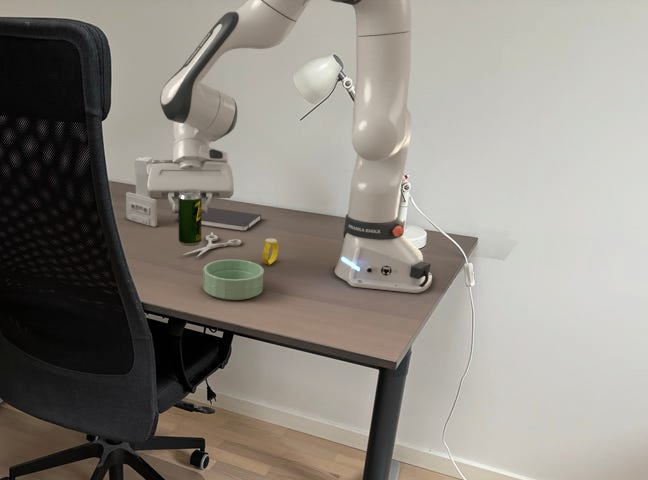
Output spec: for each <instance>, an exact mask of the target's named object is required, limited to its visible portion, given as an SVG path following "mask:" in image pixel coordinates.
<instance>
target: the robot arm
mask: <svg viewBox="0 0 648 480" xmlns="http://www.w3.org/2000/svg"><path fill="white" fill-rule="evenodd" d="M311 1H312V0H247V1H246V2H245V3H244V4H243V5H241V6H240V7H239V8H237V9H236V10H234V11H229V12H226V13H224V15H222V16H221V17H220V18H219V19H218V20H217V22H216V23H215V24H214V25H212V27H211V29H210V30H209V32H207V34H206V35H205V36H204V38H203V39H202V40H201V42H199V44H198V45H197V47H196V48H195V49H194V51H193V52H192V53H191V54H190V56H189V57H188V59H187V60H185V62H184V63H183V65H182V66H181V67H180V69H178V71H176V73H174V74H173V75H172V76H171V77H170V78H169V79H168V80H167V82H166V83H165V85H164V86H163V88H162V90H161V92H160V96H159V102H160V107H161V110H162V112H163V114H164V116H165V117H166V119H167V120H169V121H171V122H172V137H173V140H174V141H173V144H172V154H171V155H172V158H171V159H163V160H160V159H154V160H153V162H150V163H149V164H148V165H147V175H148V183H147V192H148V195H149V196H150V197H151V198H153V199H158V198H159V199H167V200H168V203H169V204H170V206H171V208H172V214H177V215H178V203H176V202H175V199H178V196H179V192H180V191H182V190H198V191H200V192H201V196H202V199H205V202H204V203H202V214H207V208H208V207H209V208H210V205H211V204H212V202H213V199H231V197H233V195H234V190H235V187H234V186H235V185H234V184H235V183H234V174H233V170H232V167H231V165H230V163H229V155H228V153H227V152H225V151H223V150H219V149H216V148H214V147H213V148H212V147H211V146H210V143H213V142H216V141H218V140H221V139H222V138H223V137H225V136H228V135H229V134H230V133H231V132H232V131H233V130H234V129H235V127H236V125H237V123H238V122H237V121H238V104H237V102H236V101H235V98H233V97H231V96H229V95H227V94H226V93H225V92H221V91H220V90H217V89H215V88H212V87H211V86H209V85H206V84H204V83H202V81H203V80H204V78H205V77H206V76H207V74H209V72H210V71H211V70H212V68H213V67H214V66H215V64H216V63H217V62H218V61H219V59H220V58H221V57H222V56H223V55H224V54H226V53H228V52H229V51H232V50H237V49H253V50H266V49H271V48H274V47H276V46H279V45H280V44H282V43H283V42H284V41H285V40H286V39H287V38H288V37H289V35H290V34H291V32H292V30H293V29H294V27H295V26H296V24H297V23H298V21H299V19H300V17H301V16H302V14H303V13H304V10H305V9H306V8H307V6H308V5H309V4H310V3H311ZM330 1H331V2H334V3H342V4H346V5H351V6H352V7H353V10H354V12H355V21H356V30H355V31H356V33H355V34H356V37H355V39H356V74H355V75H356V77H355V78H356V79H355V88H354V98H353V99H354V100H353V109H352V110H353V111H352V128H351V129H352V130H351V144H352V147H353V150H354V151H355V153H356V159H355V165H354V168H353V173H352V177H351V181H350V189H349V190H350V191H349V192H350V193H349V197H348V207H347V213H346V214H345V217H344V222H343V230H342V232H343V243H342V246H341V252H340V254H339V258H338V262H337V263H336V266H335V269H334V274H335V276H337V277H338V278H339V279H341V280H342V281H343V280H344V281H345V282H347V284H348V285H349V286H351V287H353V288H354V287H355V288H362V289H372V290H374V289H375V290H381V291H382V290H383V291H390V292H392V291H393V292H400V293H401V292H402V293H411V294H412V293H413V294H418V293H422V292H425V291H426V290H427V289H429V288H430V287H431V285H432V283H433V276H432V275H433V274H432V273H431V272H430V269H431V263H430V262H425V261H424V256H423V253H422V251H421V250H420V249H419V248H418V247H416V245H414V244H413V243H412V242H411V241H410V240H409V239H408V238H407V237H406V236H404V233H405V226H406V225H405V224H406V220H405V219H404V220H403V221H402V220H401V219H400V218H399V217H398V210H399V203H400V196H401V189H402V182H403V178H404V173H405V169H406V163H407V158H408V152H409V147H410V140H411V135H412V129H413V119H412V114H411V112H410V111H409V109H408V108H407V105H408V95H409V83H410V76H411V62H412V61H411V58H412V57H411V56H412V55H411V54H412V53H411V52H412V49H411V48H412V10H411V0H330ZM152 163H153V164H152Z"/></svg>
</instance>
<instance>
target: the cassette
mask: <svg viewBox="0 0 648 480" xmlns="http://www.w3.org/2000/svg"><path fill="white" fill-rule="evenodd" d="M141 207H142V208H141ZM125 211H126V212H125V213H126V219H127V220H130V221H133V222H136V223H138V224H143V225H146V226H150V227H154V228H155V227H157V226H158V199H157V198H149V197H145V196H141V195H138V194H136V193H134V192H130V191H127V192H125Z"/></svg>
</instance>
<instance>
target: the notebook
mask: <svg viewBox="0 0 648 480" xmlns="http://www.w3.org/2000/svg"><path fill="white" fill-rule="evenodd" d="M261 220H262V214H258V213H251V212H243V211H237V210H231V209H223V208H215V207H210V206H209V207H208V208H207V214H202V217H201V226H203V227H204V226H205V227H213V228H218V229H225V230H232V231H239V232H246V231H248V230H249V229H250V228H252V227H254V225H256V224H257V223H259V222H260V221H261Z"/></svg>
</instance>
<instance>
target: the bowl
mask: <svg viewBox="0 0 648 480" xmlns="http://www.w3.org/2000/svg"><path fill="white" fill-rule="evenodd" d="M264 275H265V269H264V268H263V266H261V265H260V264H259V263H256V262H253V261H249V260H244V259H232V258H230V259H219V260H214V261H211V262H208V263H206V264H205V265H203V269H202V289H203V291H204V292H205V293H207V294H208V295H209V296H211V297H214V298H216V299H219V300H220V299H221V300H226V301H243V300H248V299H249V300H250V299H252V298H254V297H257V296H258V295H260V294H261V293H263V289H264V278H265V277H264Z"/></svg>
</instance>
